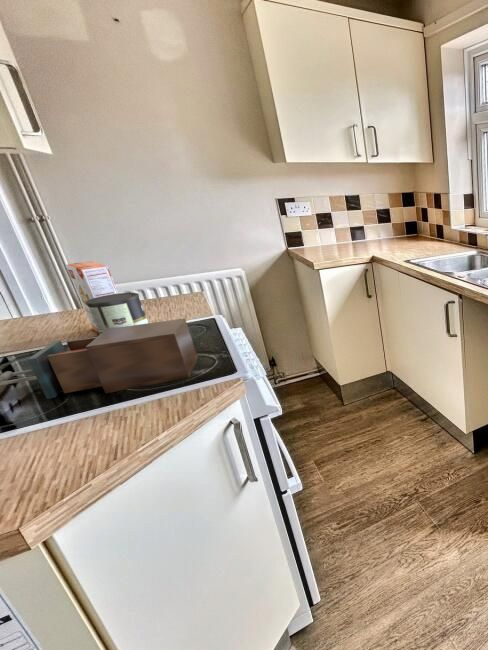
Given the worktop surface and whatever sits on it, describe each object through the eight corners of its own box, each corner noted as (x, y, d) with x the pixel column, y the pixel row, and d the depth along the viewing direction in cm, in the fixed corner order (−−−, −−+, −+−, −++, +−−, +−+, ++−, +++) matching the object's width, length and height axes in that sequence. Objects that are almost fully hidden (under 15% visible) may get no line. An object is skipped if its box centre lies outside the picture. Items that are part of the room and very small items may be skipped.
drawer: (-11, 409, 81) (-34, 368, 78) (19, 386, 91) (0, 348, 87) (131, 383, 90) (116, 345, 87) (145, 364, 100) (132, 329, 97)
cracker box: (93, 334, 125) (64, 264, 118) (119, 328, 130) (92, 260, 122) (108, 342, 118) (78, 268, 110) (135, 335, 123) (108, 264, 115)
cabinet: (105, 393, 88) (85, 346, 84) (123, 371, 99) (106, 329, 95) (189, 377, 94) (174, 333, 91) (198, 358, 105) (185, 318, 101)
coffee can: (143, 339, 120) (125, 291, 114) (164, 344, 115) (146, 294, 110) (98, 352, 111) (76, 300, 106) (119, 358, 107) (97, 304, 102)
